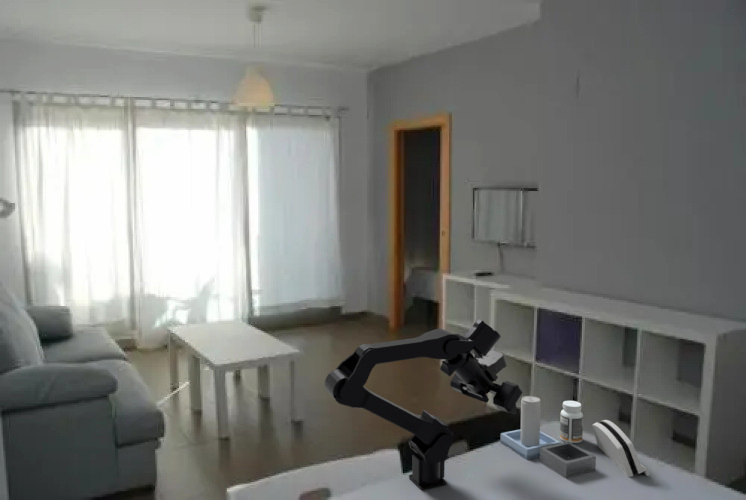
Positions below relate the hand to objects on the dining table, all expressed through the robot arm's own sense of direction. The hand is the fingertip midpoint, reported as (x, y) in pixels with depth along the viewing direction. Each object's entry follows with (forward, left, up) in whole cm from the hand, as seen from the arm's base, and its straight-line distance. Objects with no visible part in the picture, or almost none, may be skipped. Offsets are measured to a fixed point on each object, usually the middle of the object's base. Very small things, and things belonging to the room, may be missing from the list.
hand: (501, 406), depth 140 cm
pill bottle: (+25, +2, -14) cm, 28 cm away
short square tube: (+13, -9, -13) cm, 21 cm away
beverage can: (+11, +3, -13) cm, 18 cm away
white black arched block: (+26, -12, -14) cm, 32 cm away
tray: (+12, +3, -13) cm, 18 cm away
